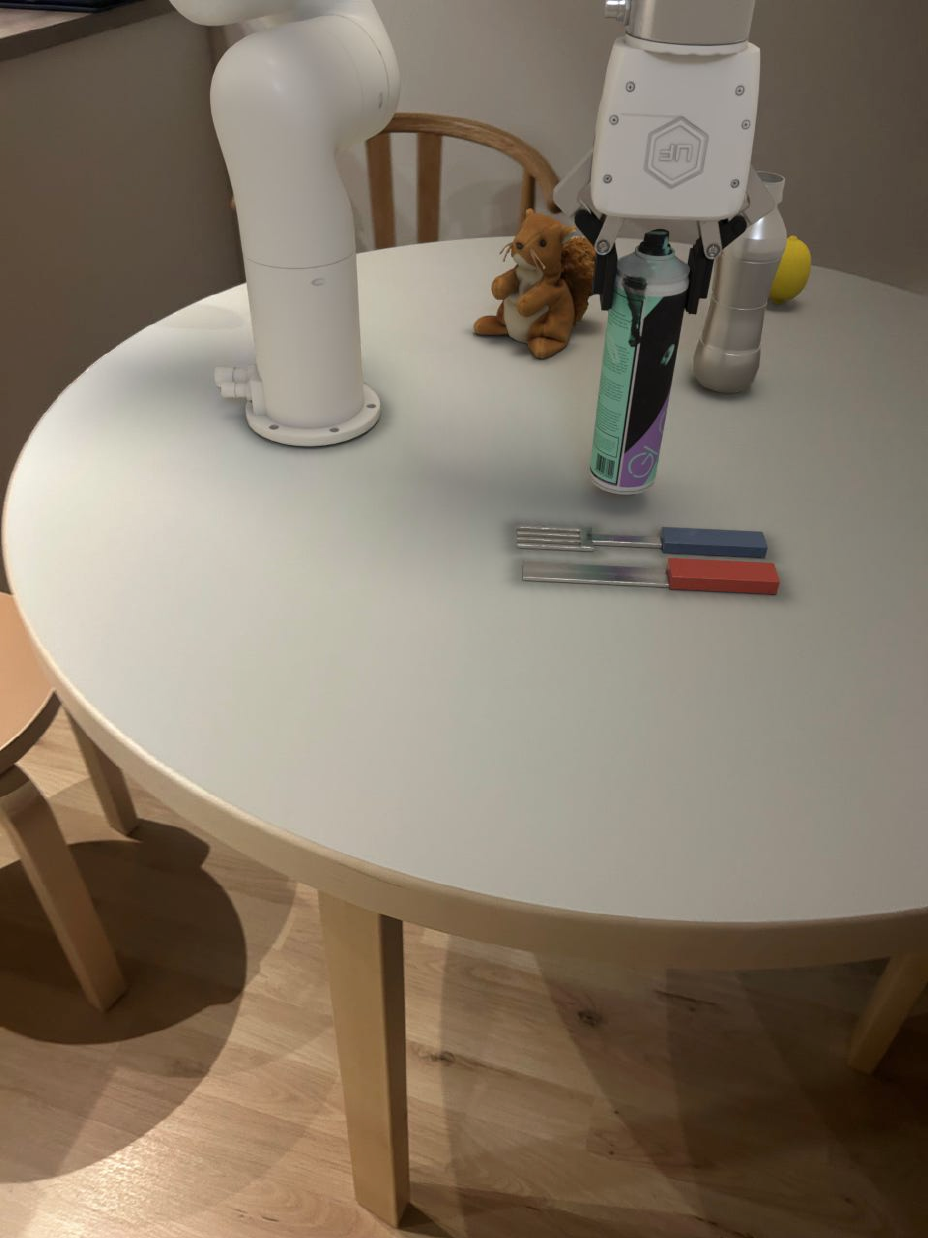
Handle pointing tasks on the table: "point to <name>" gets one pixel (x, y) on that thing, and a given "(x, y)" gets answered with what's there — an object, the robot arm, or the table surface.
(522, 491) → the table surface
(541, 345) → the stuffed squirrel
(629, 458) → the spray can
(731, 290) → the plastic bottle
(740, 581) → the knife
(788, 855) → the table surface
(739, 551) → the fork
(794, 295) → the lemon
